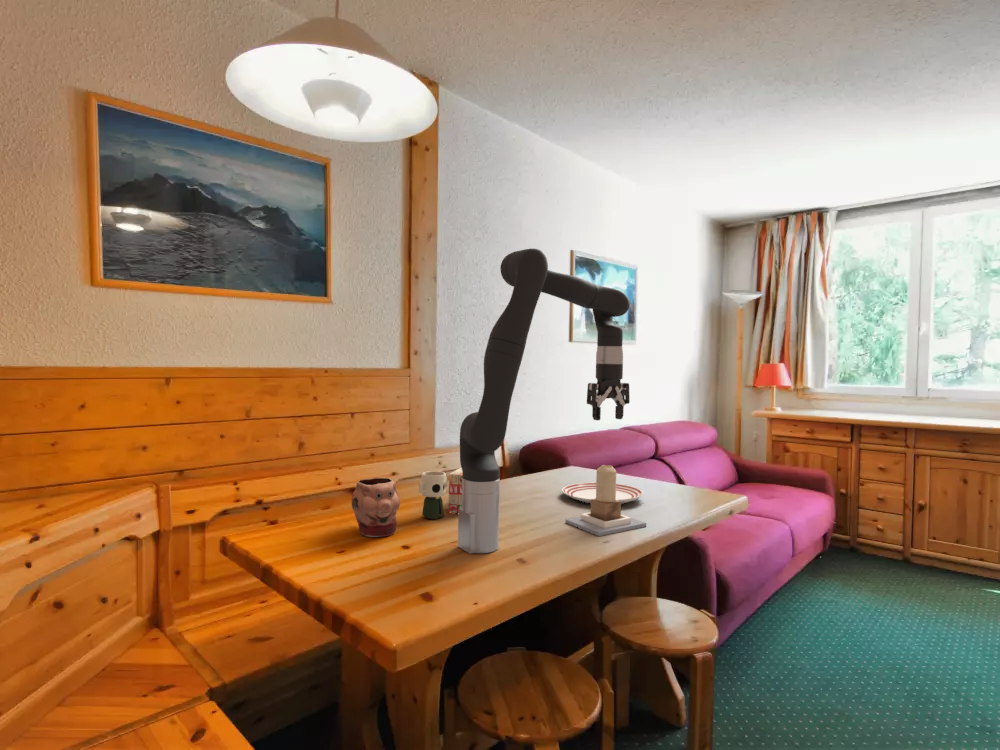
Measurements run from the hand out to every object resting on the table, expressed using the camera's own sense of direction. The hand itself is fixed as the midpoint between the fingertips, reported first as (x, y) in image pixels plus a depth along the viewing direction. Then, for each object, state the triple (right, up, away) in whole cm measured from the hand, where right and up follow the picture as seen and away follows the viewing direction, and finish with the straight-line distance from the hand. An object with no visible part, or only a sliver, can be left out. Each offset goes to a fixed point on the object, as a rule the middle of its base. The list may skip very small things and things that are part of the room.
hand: (608, 419), depth 155 cm
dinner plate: (+4, -30, +31) cm, 43 cm away
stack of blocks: (-41, -29, +19) cm, 53 cm away
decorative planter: (-64, -29, -9) cm, 71 cm away
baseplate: (-1, -30, +1) cm, 30 cm away
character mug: (-50, -29, +5) cm, 58 cm away
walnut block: (-1, -29, +1) cm, 29 cm away
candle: (-1, -23, +1) cm, 23 cm away
